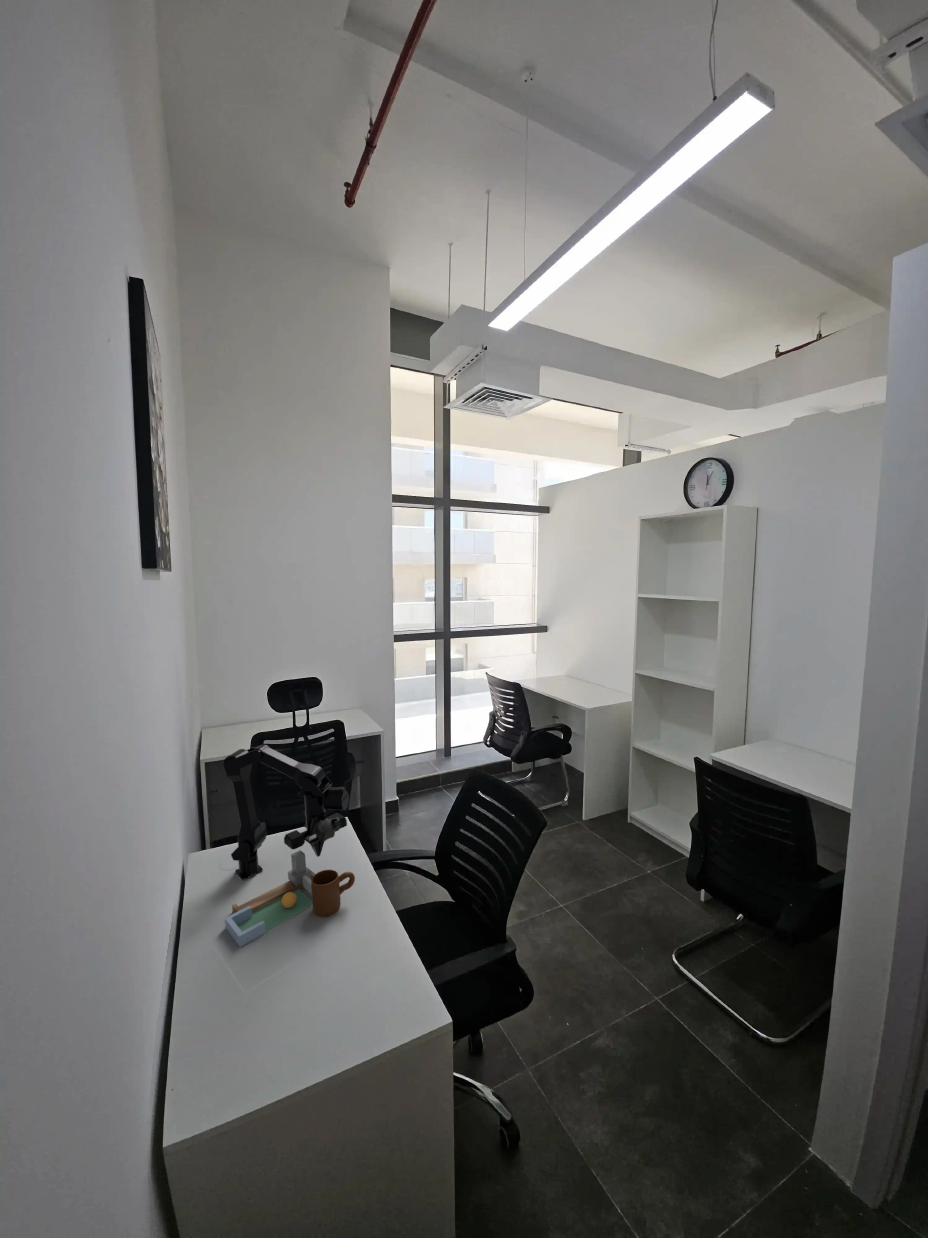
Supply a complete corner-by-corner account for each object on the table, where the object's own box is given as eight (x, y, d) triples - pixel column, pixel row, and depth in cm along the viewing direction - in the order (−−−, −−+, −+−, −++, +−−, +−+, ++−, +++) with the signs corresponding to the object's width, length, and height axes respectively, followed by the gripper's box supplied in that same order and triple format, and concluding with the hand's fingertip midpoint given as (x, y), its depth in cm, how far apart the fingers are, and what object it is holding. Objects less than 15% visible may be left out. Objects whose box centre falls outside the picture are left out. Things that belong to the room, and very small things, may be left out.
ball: (279, 907, 138) (278, 894, 137) (292, 900, 141) (291, 887, 140) (285, 913, 135) (284, 900, 135) (299, 906, 138) (298, 893, 137)
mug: (354, 892, 143) (352, 862, 142) (358, 908, 136) (356, 877, 135) (311, 904, 139) (309, 873, 138) (314, 921, 132) (312, 889, 131)
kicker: (288, 882, 148) (286, 854, 147) (303, 874, 151) (301, 847, 151) (308, 900, 139) (306, 871, 138) (323, 891, 143) (322, 863, 142)
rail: (232, 913, 136) (231, 905, 136) (308, 875, 153) (307, 867, 152) (239, 921, 133) (238, 913, 133) (316, 881, 149) (315, 874, 149)
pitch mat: (225, 927, 131) (225, 926, 131) (298, 889, 146) (298, 889, 146) (239, 946, 124) (239, 945, 124) (315, 904, 139) (315, 904, 139)
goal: (225, 928, 130) (224, 918, 130) (250, 915, 135) (249, 905, 135) (240, 947, 123) (239, 936, 123) (265, 933, 128) (264, 922, 128)
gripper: (298, 829, 138) (302, 880, 140) (354, 805, 152) (357, 852, 153) (281, 816, 146) (285, 865, 148) (336, 795, 159) (339, 840, 161)
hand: (318, 856), depth 152 cm, fingers closed
